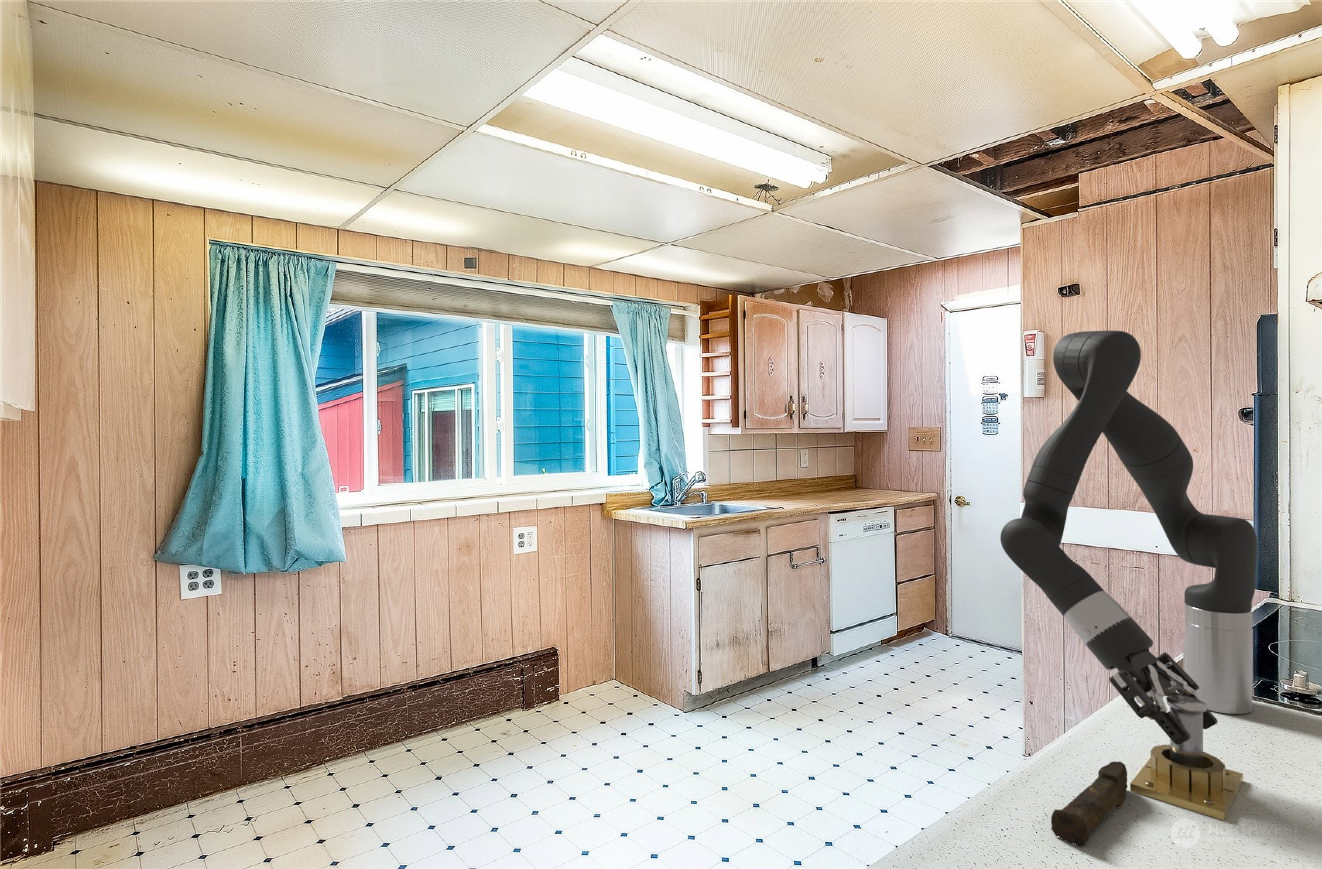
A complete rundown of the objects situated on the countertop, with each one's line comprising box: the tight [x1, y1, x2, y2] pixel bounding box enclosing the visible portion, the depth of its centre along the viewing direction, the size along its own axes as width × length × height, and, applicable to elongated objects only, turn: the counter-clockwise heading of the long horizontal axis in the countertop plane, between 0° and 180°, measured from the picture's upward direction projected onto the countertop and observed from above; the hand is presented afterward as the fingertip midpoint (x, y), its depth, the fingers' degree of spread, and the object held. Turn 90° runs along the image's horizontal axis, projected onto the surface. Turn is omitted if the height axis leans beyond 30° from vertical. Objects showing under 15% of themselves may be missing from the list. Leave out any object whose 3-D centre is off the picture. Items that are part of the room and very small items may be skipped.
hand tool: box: [1050, 760, 1128, 847], centre depth 89 cm, size 19×4×5 cm, turn 127°
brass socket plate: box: [1129, 744, 1244, 821], centre depth 96 cm, size 14×10×4 cm
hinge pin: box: [1165, 695, 1207, 769], centre depth 96 cm, size 4×4×11 cm
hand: (1198, 733), depth 95 cm, fingers open, 8 cm apart
